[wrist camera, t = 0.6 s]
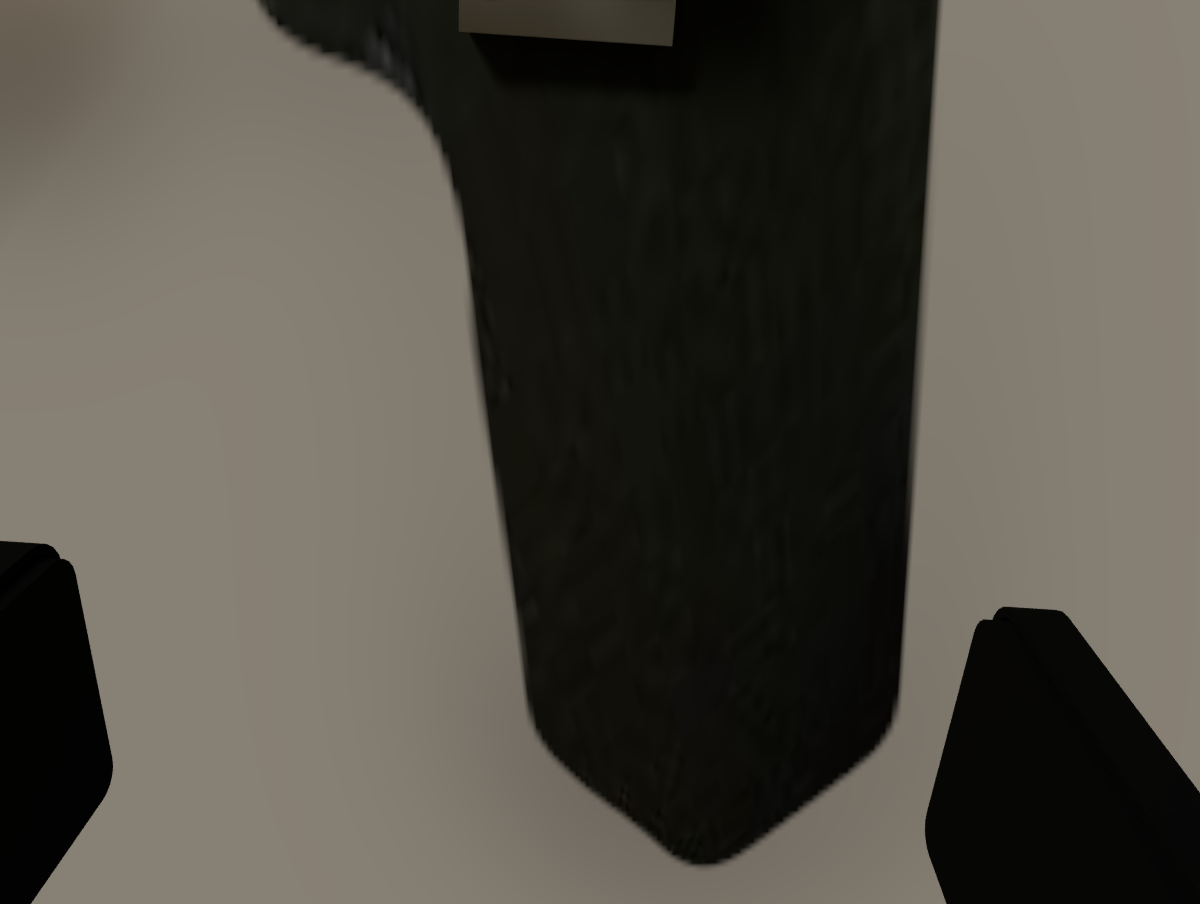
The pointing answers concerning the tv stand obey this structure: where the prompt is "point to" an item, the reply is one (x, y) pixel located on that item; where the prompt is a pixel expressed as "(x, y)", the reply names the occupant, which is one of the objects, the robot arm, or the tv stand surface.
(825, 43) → the tv stand surface
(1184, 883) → the robot arm
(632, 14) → the board
